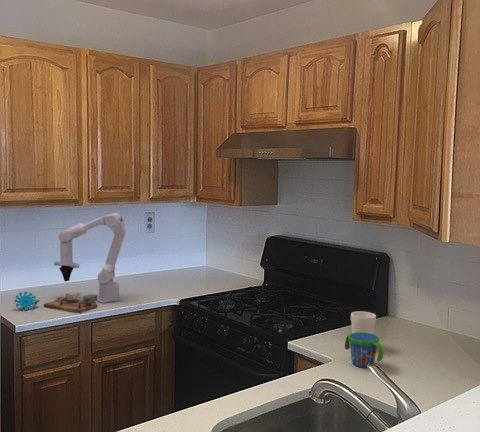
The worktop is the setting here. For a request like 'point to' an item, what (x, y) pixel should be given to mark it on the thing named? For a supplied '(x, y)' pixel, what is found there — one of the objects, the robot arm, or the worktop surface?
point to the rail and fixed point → (86, 300)
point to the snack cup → (363, 348)
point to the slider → (71, 296)
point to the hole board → (69, 306)
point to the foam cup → (363, 322)
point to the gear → (26, 301)
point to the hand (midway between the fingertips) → (66, 280)
